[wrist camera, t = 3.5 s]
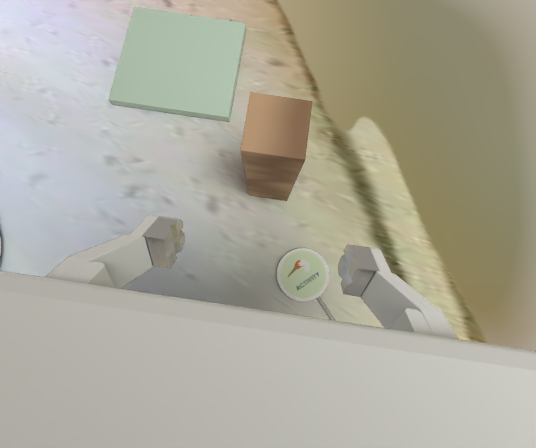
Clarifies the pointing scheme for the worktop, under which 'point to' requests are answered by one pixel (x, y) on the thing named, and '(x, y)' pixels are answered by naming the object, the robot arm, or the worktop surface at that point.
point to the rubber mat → (179, 64)
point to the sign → (303, 276)
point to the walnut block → (274, 144)
